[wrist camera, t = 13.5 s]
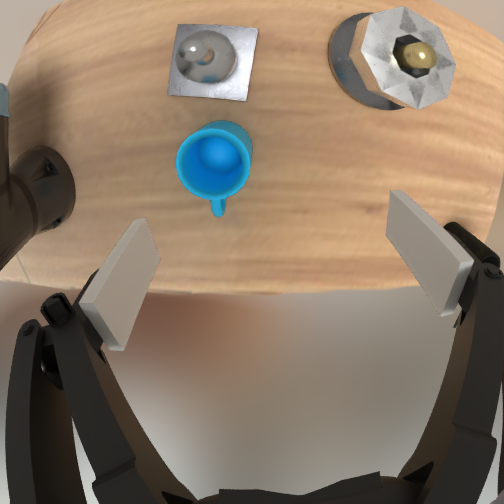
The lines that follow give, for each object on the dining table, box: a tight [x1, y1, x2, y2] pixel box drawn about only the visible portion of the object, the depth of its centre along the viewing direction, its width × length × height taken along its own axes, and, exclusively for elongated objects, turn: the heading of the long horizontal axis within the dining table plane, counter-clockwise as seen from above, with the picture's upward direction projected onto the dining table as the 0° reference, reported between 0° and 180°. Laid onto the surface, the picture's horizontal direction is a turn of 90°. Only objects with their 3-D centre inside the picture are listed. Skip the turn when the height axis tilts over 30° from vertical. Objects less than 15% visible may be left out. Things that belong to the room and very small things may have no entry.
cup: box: [443, 222, 500, 268], centre depth 36 cm, size 8×8×12 cm
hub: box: [328, 13, 437, 110], centre depth 22 cm, size 14×14×12 cm
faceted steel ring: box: [349, 6, 456, 110], centre depth 21 cm, size 11×11×4 cm
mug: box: [176, 120, 252, 217], centre depth 33 cm, size 12×8×8 cm
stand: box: [168, 24, 258, 101], centre depth 24 cm, size 10×10×12 cm
